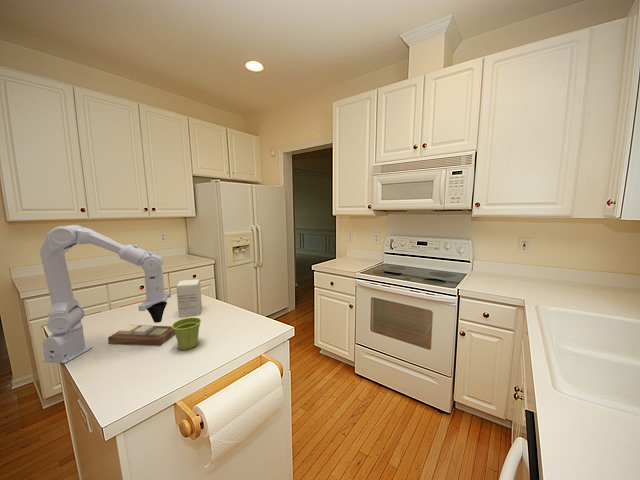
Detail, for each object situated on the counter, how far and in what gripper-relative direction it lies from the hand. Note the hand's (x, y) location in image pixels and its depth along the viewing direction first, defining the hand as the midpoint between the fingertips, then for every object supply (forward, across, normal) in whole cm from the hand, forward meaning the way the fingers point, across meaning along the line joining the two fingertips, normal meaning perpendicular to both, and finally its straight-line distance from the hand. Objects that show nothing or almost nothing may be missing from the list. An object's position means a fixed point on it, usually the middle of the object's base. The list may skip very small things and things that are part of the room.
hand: (157, 321), depth 97 cm
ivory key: (+5, 0, +6) cm, 8 cm away
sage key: (+6, 0, 0) cm, 6 cm away
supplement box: (+7, +24, +2) cm, 25 cm away
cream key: (+5, 0, +12) cm, 13 cm away
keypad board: (+7, 0, +6) cm, 9 cm away
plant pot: (+7, -4, -14) cm, 16 cm away
